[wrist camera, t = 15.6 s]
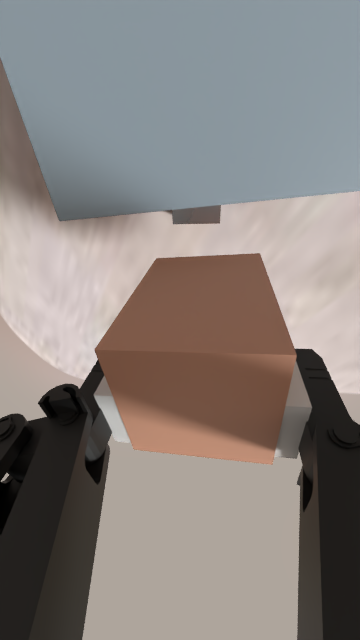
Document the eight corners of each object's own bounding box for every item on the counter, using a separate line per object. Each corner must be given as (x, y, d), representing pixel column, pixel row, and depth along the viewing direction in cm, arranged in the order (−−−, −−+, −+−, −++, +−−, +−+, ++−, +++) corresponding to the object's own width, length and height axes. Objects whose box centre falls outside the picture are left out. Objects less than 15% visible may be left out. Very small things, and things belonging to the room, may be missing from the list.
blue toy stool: (89, -16, 14) (-134, -313, 5) (336, -90, 11) (692, -890, 3) (131, 195, 20) (59, 221, 11) (299, 176, 17) (377, 189, 9)
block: (156, 258, 12) (94, 349, 6) (259, 253, 11) (296, 354, 5) (169, 336, 15) (134, 449, 9) (252, 337, 14) (272, 464, 8)
